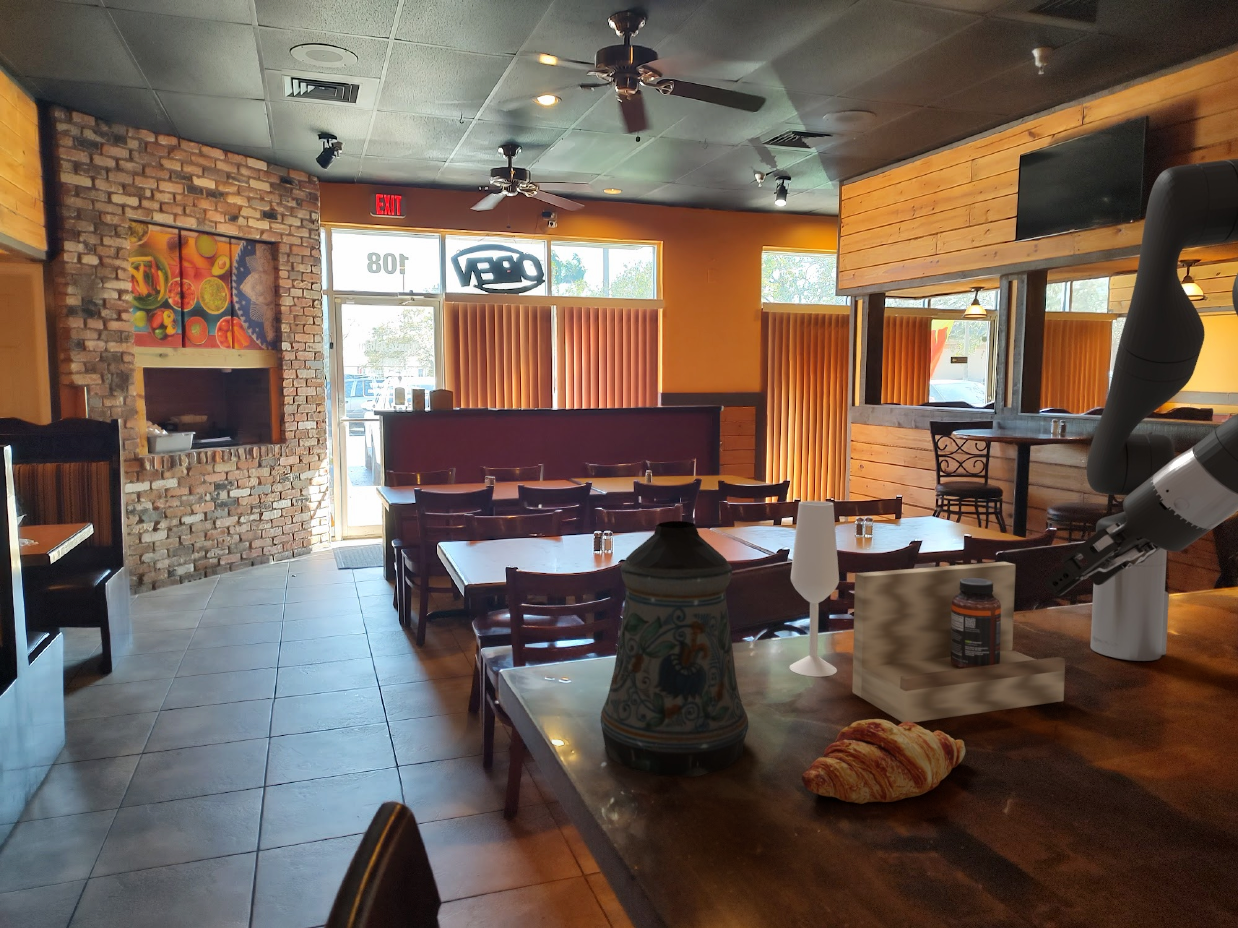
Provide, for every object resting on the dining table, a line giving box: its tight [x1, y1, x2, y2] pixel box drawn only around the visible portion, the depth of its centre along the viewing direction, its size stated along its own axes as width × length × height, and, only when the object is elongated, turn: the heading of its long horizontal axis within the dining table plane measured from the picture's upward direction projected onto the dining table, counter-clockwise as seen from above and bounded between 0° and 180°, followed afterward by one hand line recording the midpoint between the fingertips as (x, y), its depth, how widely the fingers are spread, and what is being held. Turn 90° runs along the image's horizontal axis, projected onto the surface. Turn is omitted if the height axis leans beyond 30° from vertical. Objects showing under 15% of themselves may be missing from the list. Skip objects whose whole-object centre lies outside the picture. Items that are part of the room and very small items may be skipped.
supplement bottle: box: [951, 578, 1001, 669], centre depth 108 cm, size 6×6×11 cm
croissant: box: [801, 718, 966, 805], centre depth 85 cm, size 21×10×8 cm, turn 118°
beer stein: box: [600, 520, 750, 777], centre depth 95 cm, size 16×19×25 cm
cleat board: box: [852, 561, 1066, 723], centre depth 108 cm, size 24×11×16 cm, turn 108°
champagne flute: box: [789, 500, 840, 677], centre depth 119 cm, size 7×7×24 cm
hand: (1072, 583), depth 98 cm, fingers open, 8 cm apart
